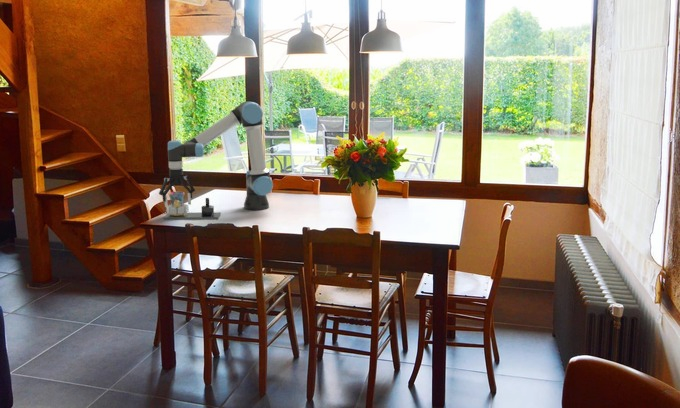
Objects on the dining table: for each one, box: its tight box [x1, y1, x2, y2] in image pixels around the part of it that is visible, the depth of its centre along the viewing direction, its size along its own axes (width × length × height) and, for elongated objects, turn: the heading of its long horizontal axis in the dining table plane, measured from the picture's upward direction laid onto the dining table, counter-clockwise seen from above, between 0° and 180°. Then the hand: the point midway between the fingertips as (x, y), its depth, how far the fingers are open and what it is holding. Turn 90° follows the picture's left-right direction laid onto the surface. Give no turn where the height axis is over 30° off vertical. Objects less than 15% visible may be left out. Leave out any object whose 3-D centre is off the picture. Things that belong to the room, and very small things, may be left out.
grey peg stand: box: [163, 197, 222, 221], centre depth 382 cm, size 30×13×11 cm, turn 94°
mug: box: [167, 191, 186, 204], centre depth 401 cm, size 12×9×11 cm
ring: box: [165, 203, 190, 214], centre depth 382 cm, size 12×12×4 cm
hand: (178, 205), depth 382 cm, fingers open, 13 cm apart
